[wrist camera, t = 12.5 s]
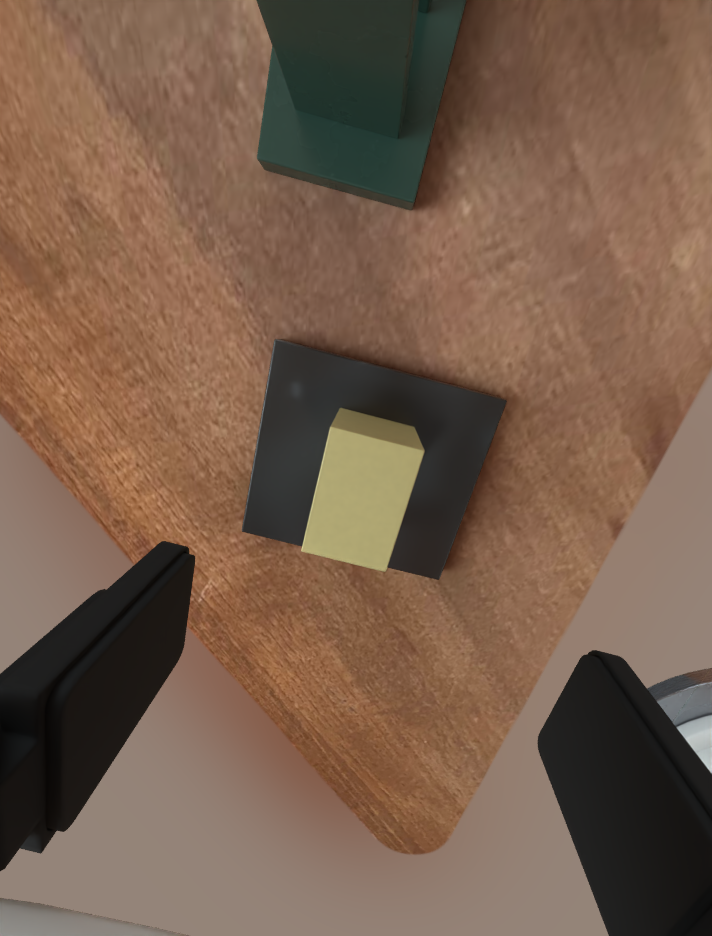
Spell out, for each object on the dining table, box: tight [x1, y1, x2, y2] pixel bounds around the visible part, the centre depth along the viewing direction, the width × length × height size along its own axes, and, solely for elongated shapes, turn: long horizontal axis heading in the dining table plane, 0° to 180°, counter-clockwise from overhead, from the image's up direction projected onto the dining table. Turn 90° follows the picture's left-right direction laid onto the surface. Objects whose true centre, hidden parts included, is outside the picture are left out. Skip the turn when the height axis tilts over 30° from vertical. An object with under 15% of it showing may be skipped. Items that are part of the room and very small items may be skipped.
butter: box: [301, 408, 425, 572], centre depth 19 cm, size 4×6×4 cm, turn 166°
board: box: [242, 339, 507, 580], centre depth 21 cm, size 12×11×1 cm
